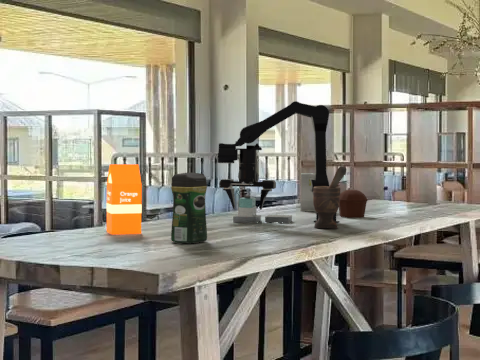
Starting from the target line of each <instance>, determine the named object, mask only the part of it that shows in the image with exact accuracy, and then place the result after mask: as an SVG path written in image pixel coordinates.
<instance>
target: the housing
mask: <svg viewBox="0 0 480 360" xmlns="http://www.w3.org/2000/svg"><path fill="white" fill-rule="evenodd" d="M256 199H257V198H256V197H251V195H244V197H240V198H239V199H238V200H239V202H238V203H239V205H238V208H237V215H238V216H239V217H254V216H256V215H257V206H256V201H257V200H256Z"/></svg>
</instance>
